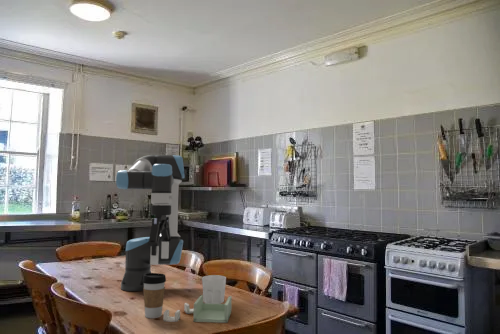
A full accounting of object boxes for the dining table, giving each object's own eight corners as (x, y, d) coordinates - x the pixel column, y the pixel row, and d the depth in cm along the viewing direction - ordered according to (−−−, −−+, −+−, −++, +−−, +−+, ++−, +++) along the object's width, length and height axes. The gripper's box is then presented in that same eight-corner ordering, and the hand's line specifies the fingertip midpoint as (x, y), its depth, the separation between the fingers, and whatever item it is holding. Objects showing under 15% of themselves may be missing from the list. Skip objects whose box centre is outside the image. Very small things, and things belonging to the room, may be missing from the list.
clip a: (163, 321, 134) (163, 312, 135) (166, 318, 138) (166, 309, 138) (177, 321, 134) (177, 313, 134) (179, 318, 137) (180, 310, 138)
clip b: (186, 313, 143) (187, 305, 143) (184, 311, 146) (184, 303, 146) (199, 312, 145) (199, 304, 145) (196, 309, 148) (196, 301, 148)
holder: (193, 321, 134) (193, 304, 135) (200, 311, 146) (200, 295, 147) (227, 322, 133) (227, 305, 134) (231, 312, 145) (231, 296, 146)
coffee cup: (143, 312, 144) (145, 271, 145) (166, 311, 145) (167, 271, 146) (139, 319, 136) (140, 276, 137) (163, 319, 137) (164, 276, 138)
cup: (205, 306, 152) (206, 281, 153) (198, 300, 162) (199, 276, 162) (229, 303, 156) (229, 279, 157) (221, 297, 166) (221, 274, 166)
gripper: (161, 205, 133) (159, 267, 131) (178, 204, 157) (177, 256, 156) (140, 205, 133) (138, 267, 131) (161, 203, 158) (159, 256, 156)
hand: (159, 261), depth 144 cm, fingers open, 13 cm apart
